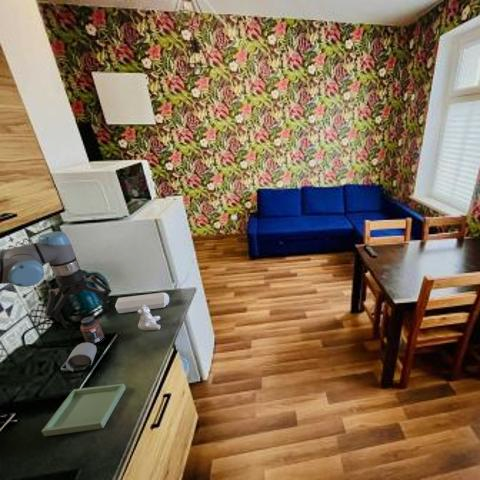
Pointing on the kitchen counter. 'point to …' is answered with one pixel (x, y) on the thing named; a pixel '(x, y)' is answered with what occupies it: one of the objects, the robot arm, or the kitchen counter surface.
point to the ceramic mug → (80, 356)
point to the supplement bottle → (91, 330)
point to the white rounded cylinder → (142, 302)
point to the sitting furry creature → (147, 319)
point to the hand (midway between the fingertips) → (87, 317)
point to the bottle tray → (85, 410)
